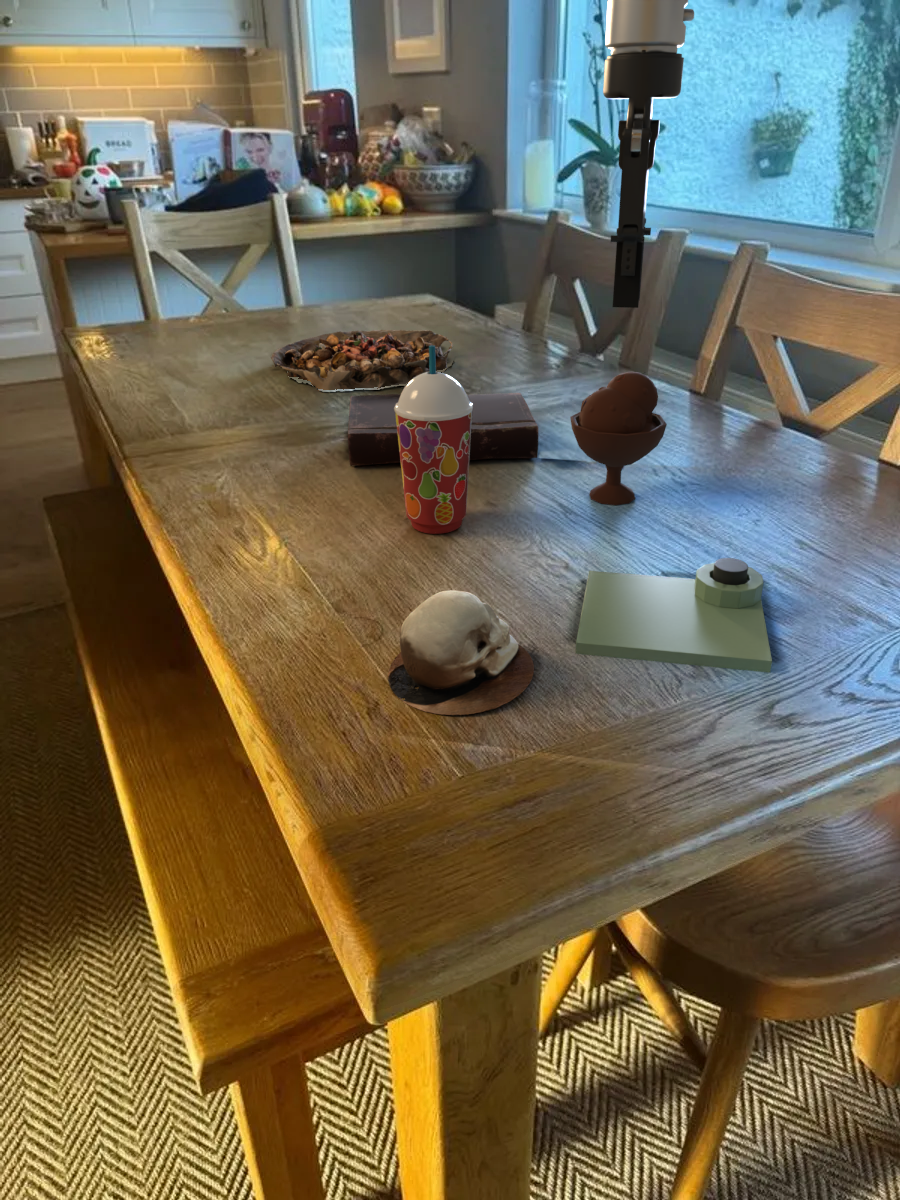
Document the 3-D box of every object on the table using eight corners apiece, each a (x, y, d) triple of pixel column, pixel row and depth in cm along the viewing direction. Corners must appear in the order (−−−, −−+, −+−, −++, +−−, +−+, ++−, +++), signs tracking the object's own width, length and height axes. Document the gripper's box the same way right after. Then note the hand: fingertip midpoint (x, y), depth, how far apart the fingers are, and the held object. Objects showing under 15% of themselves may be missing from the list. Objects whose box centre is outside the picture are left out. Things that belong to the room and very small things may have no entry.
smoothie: (474, 510, 106) (473, 336, 96) (472, 539, 99) (471, 355, 89) (403, 510, 106) (395, 337, 97) (396, 539, 99) (387, 355, 89)
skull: (477, 609, 82) (524, 561, 74) (521, 714, 80) (574, 677, 71) (358, 640, 77) (393, 593, 68) (400, 754, 74) (442, 720, 66)
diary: (538, 462, 120) (539, 425, 118) (350, 470, 119) (347, 433, 116) (518, 420, 136) (519, 387, 134) (352, 427, 135) (350, 393, 133)
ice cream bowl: (610, 474, 116) (618, 356, 109) (677, 499, 108) (691, 374, 101) (548, 493, 110) (553, 370, 103) (614, 521, 102) (624, 390, 95)
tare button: (744, 573, 85) (747, 558, 84) (747, 588, 82) (749, 573, 81) (711, 571, 85) (713, 556, 84) (713, 585, 83) (715, 570, 82)
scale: (756, 592, 87) (760, 564, 85) (770, 673, 74) (775, 642, 73) (588, 579, 90) (590, 551, 88) (575, 654, 77) (577, 624, 76)
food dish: (390, 409, 146) (386, 361, 142) (235, 388, 161) (228, 344, 158) (490, 355, 172) (489, 313, 168) (349, 341, 187) (345, 303, 183)
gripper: (685, 45, 79) (660, 319, 90) (683, 55, 94) (662, 290, 105) (599, 48, 81) (585, 317, 92) (610, 57, 95) (597, 289, 106)
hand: (626, 302), depth 98 cm, fingers open, 3 cm apart
